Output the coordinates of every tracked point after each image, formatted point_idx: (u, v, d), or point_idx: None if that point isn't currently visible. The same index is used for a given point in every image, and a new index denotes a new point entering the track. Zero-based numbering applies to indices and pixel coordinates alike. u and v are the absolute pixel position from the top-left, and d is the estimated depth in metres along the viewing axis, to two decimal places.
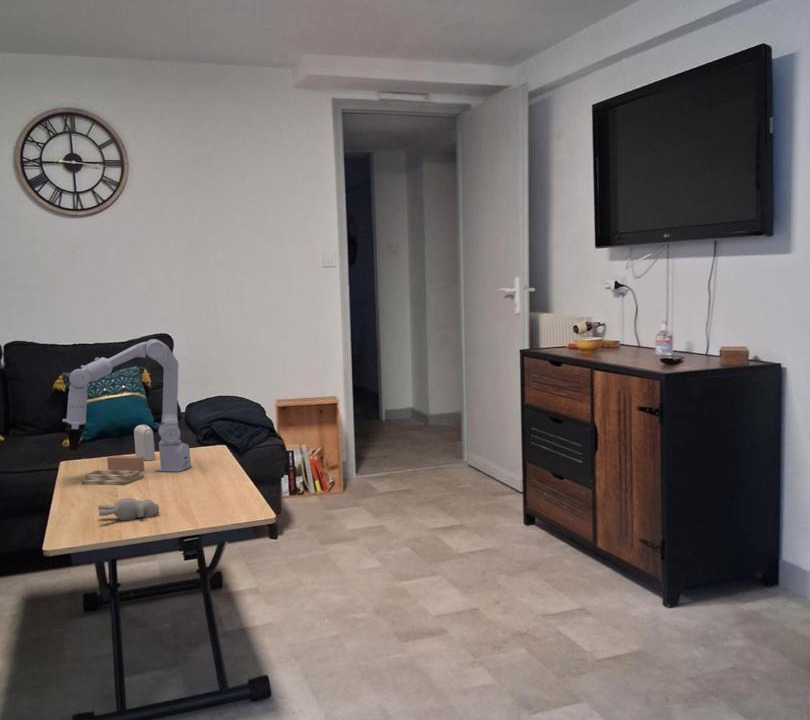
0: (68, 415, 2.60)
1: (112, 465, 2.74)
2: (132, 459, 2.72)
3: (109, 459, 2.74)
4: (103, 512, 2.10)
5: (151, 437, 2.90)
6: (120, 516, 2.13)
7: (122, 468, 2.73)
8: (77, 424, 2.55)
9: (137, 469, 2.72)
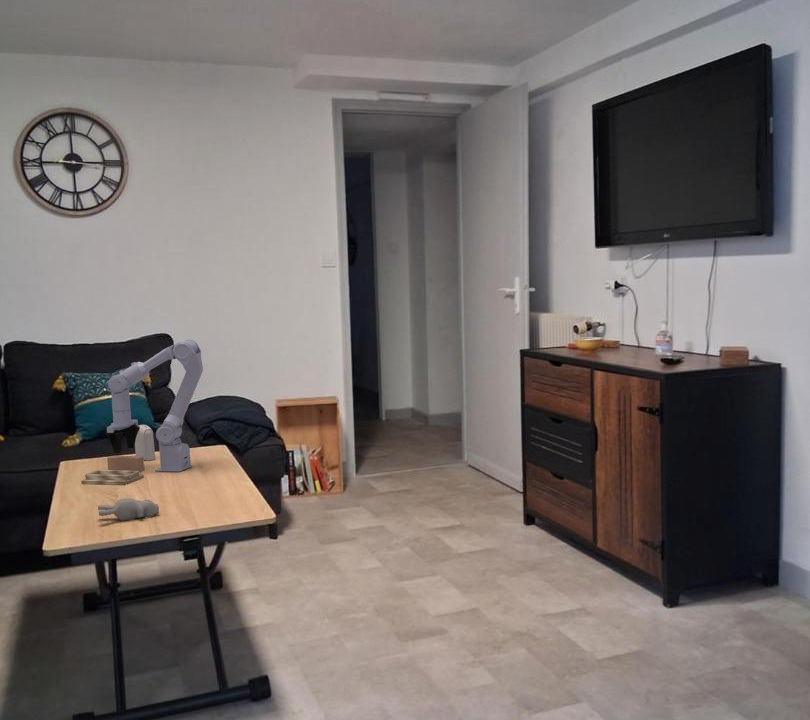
0: (113, 419, 2.72)
1: (112, 465, 2.74)
2: (132, 460, 2.72)
3: (109, 459, 2.74)
4: (103, 512, 2.10)
5: (151, 437, 2.90)
6: (120, 516, 2.13)
7: (122, 468, 2.73)
8: (111, 428, 2.66)
9: (137, 469, 2.72)
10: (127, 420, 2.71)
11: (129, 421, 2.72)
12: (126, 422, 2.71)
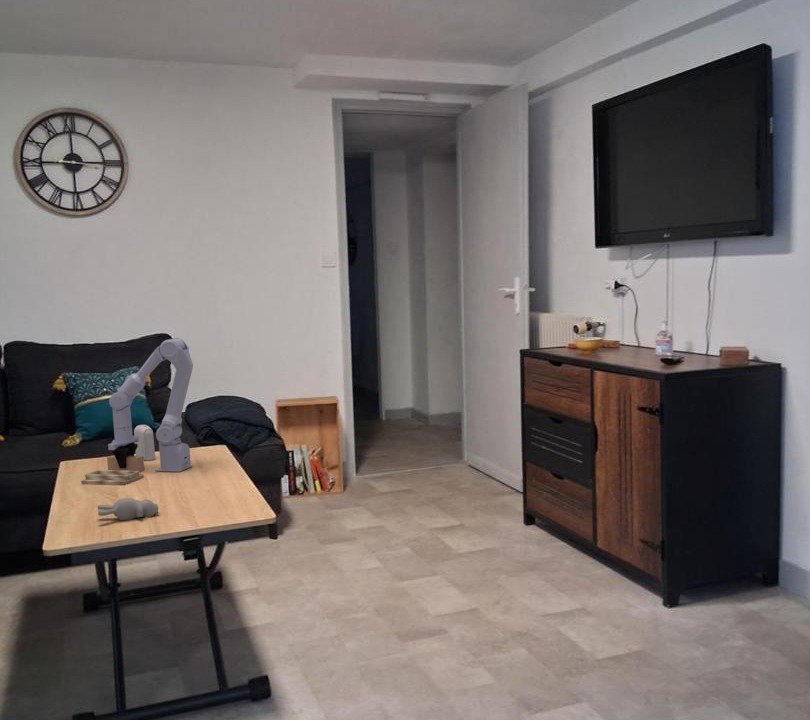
0: None
1: (111, 464, 2.74)
2: (132, 459, 2.72)
3: (109, 459, 2.74)
4: (102, 512, 2.10)
5: (151, 437, 2.90)
6: (119, 516, 2.13)
7: None
8: (112, 445, 2.67)
9: (137, 469, 2.72)
10: (128, 437, 2.72)
11: (130, 438, 2.73)
12: (127, 439, 2.72)
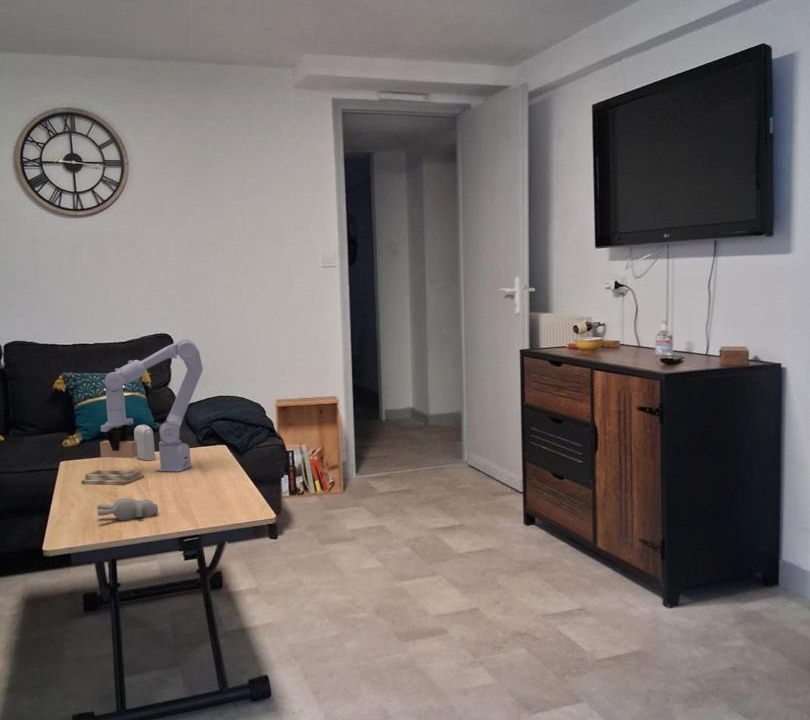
0: None
1: (104, 449, 2.68)
2: (125, 444, 2.66)
3: (102, 444, 2.69)
4: (102, 512, 2.10)
5: (151, 437, 2.90)
6: (119, 516, 2.13)
7: (114, 453, 2.67)
8: (104, 427, 2.61)
9: (130, 454, 2.66)
10: (122, 419, 2.66)
11: (124, 420, 2.67)
12: (120, 421, 2.66)
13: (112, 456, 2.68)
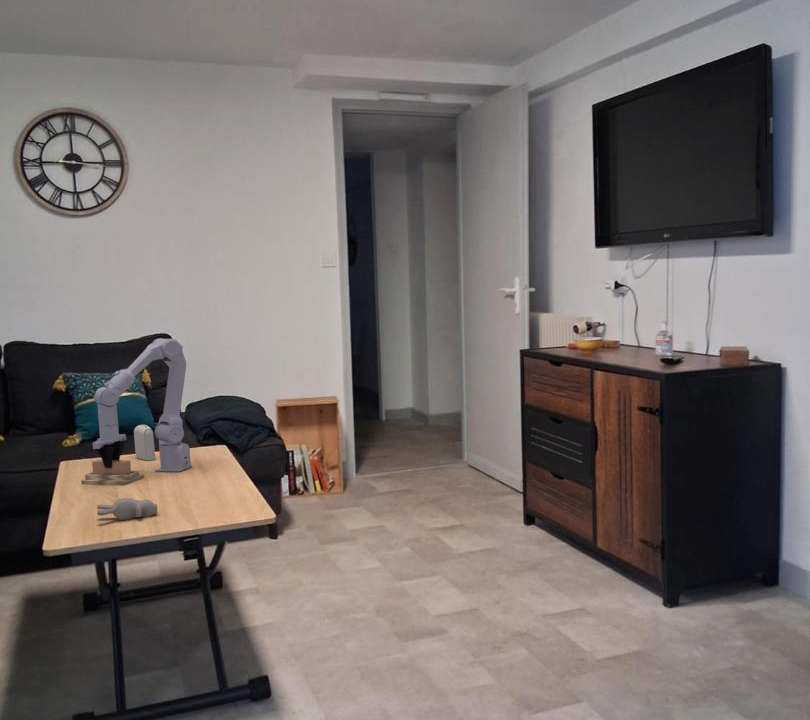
0: None
1: (97, 469, 2.60)
2: (118, 464, 2.58)
3: (94, 463, 2.60)
4: (101, 512, 2.10)
5: (151, 437, 2.90)
6: (118, 516, 2.13)
7: (107, 472, 2.59)
8: (97, 444, 2.53)
9: (124, 474, 2.58)
10: (114, 435, 2.58)
11: (116, 436, 2.59)
12: (113, 437, 2.58)
13: None
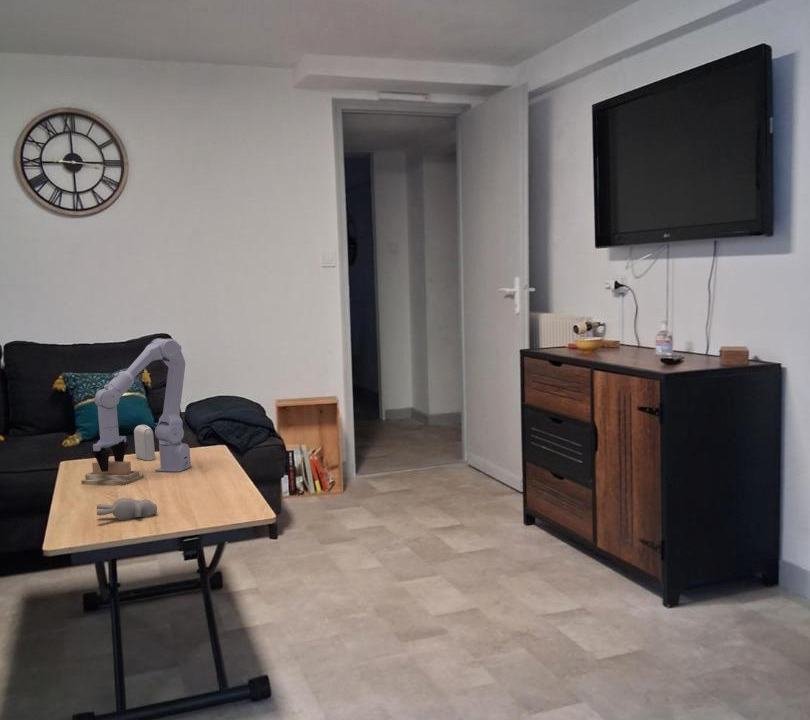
0: (100, 436, 2.59)
1: (97, 470, 2.60)
2: (118, 465, 2.58)
3: (94, 464, 2.60)
4: (101, 512, 2.11)
5: (151, 437, 2.90)
6: (118, 516, 2.13)
7: (107, 473, 2.60)
8: (97, 446, 2.53)
9: None
10: (114, 437, 2.58)
11: (117, 438, 2.59)
12: (113, 439, 2.58)
13: None
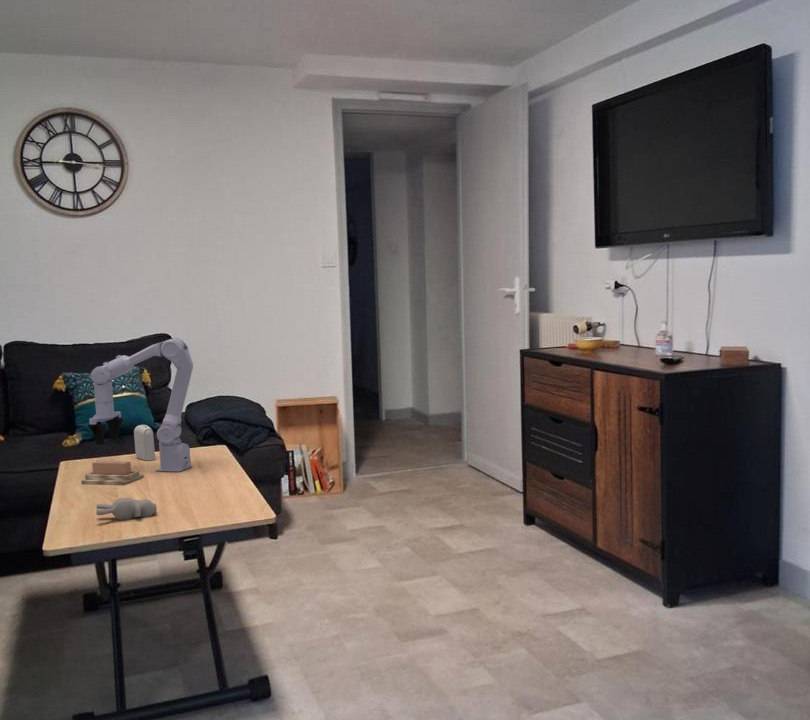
0: (96, 411, 2.71)
1: (97, 470, 2.60)
2: (118, 465, 2.58)
3: (94, 464, 2.60)
4: (100, 511, 2.11)
5: (151, 437, 2.90)
6: (117, 516, 2.14)
7: (107, 473, 2.60)
8: (93, 420, 2.64)
9: None
10: (110, 412, 2.70)
11: (112, 413, 2.71)
12: (109, 414, 2.70)
13: None
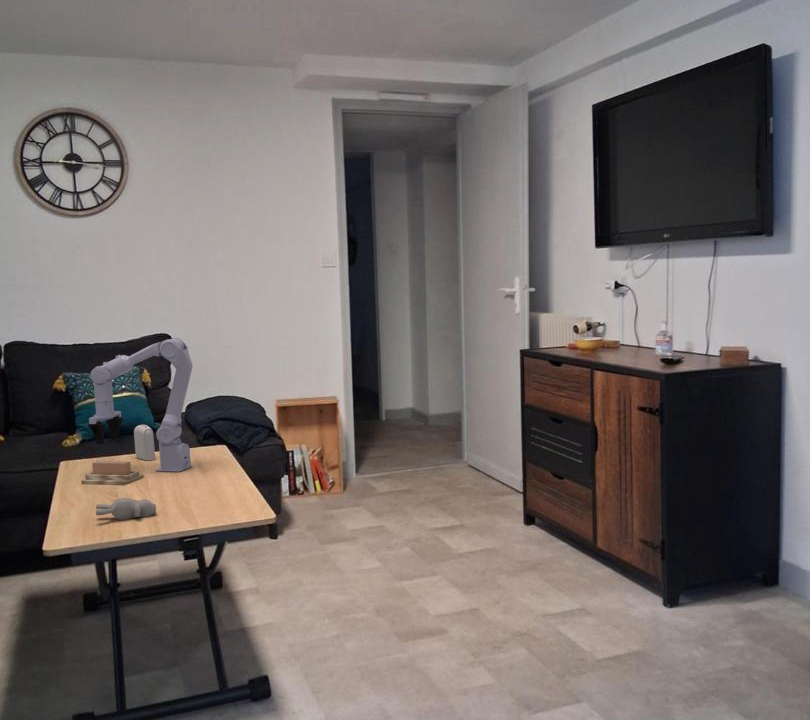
0: (96, 410, 2.71)
1: (97, 470, 2.60)
2: (118, 465, 2.58)
3: (94, 464, 2.60)
4: (100, 511, 2.11)
5: (151, 437, 2.90)
6: (117, 516, 2.13)
7: (107, 473, 2.60)
8: (93, 419, 2.65)
9: None
10: (110, 411, 2.71)
11: (112, 412, 2.71)
12: (109, 413, 2.70)
13: None
